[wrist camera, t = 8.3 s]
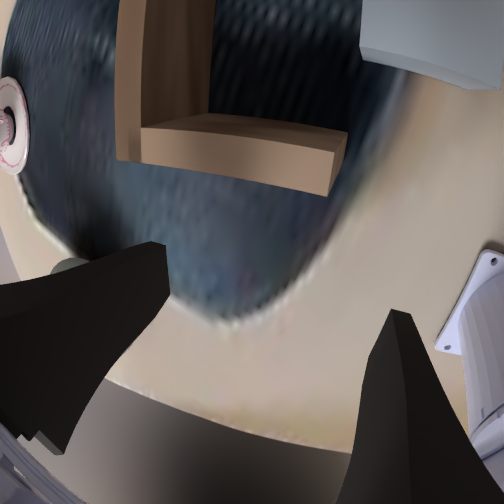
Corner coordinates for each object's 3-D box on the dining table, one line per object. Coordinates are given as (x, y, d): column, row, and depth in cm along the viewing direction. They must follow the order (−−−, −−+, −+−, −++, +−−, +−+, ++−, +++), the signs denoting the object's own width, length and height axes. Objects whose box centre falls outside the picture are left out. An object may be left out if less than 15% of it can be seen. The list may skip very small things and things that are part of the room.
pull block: (573, 46, 6) (615, 43, 2) (566, 138, 9) (609, 158, 5) (369, -38, 9) (364, -77, 5) (363, 59, 12) (359, 46, 9)
